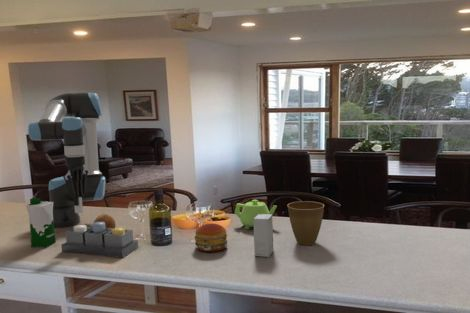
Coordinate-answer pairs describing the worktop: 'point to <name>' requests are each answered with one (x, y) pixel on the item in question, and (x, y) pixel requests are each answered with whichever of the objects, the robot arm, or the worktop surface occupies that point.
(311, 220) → the plant pot
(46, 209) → the milk carton
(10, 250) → the worktop surface
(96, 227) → the slate button
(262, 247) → the skincare box
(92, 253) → the grey frame
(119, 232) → the mustard button
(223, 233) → the burger
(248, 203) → the teapot
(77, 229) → the cream button
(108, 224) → the onion
